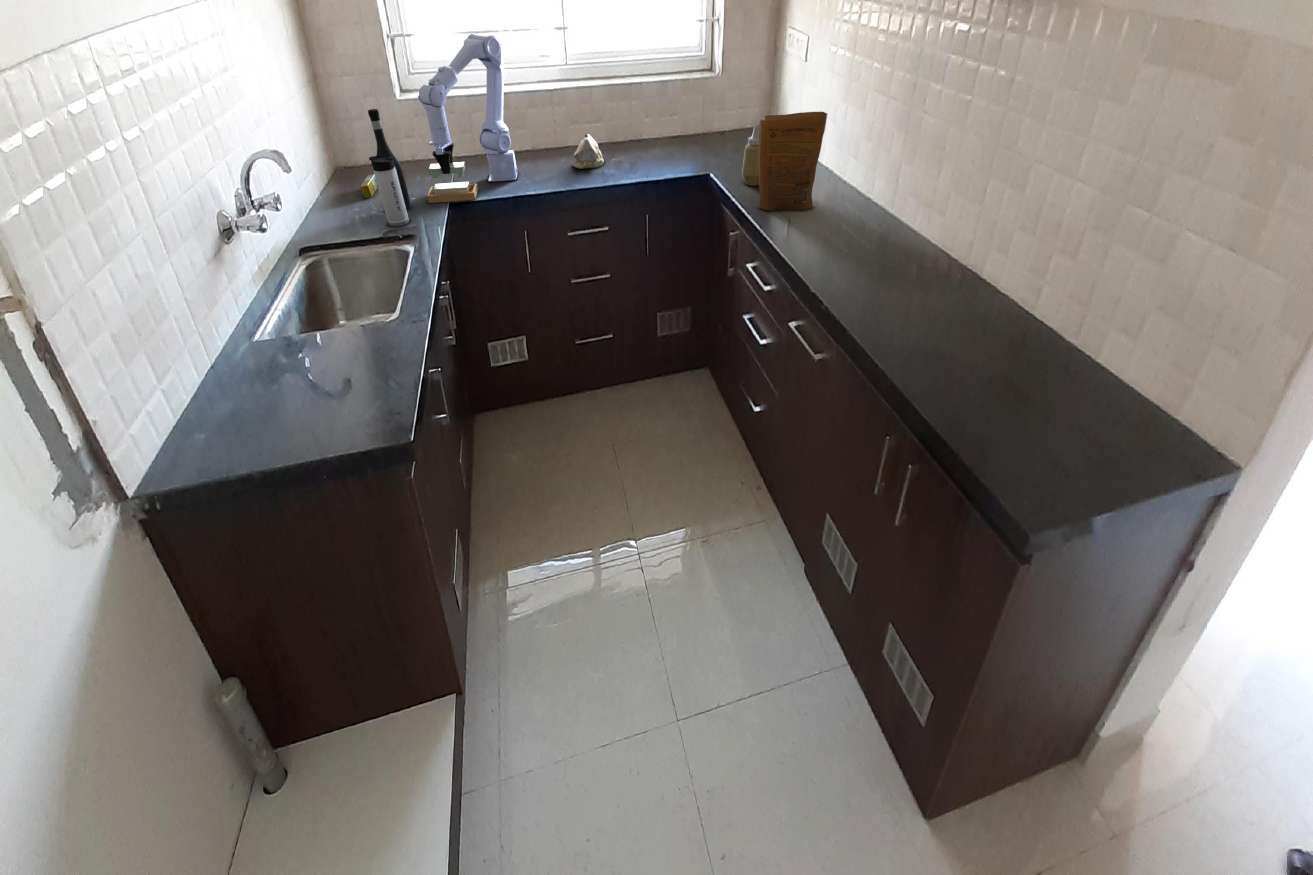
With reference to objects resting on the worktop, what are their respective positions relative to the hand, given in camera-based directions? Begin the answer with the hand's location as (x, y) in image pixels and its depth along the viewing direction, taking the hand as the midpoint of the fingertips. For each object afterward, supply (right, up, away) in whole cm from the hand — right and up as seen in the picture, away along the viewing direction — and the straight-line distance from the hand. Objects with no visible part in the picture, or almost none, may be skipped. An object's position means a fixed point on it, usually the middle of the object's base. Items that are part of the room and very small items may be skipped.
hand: (448, 170), depth 232 cm
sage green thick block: (0, -1, +1) cm, 2 cm away
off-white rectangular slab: (0, -6, +5) cm, 8 cm away
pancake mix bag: (+108, -17, -14) cm, 110 cm away
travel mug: (-12, -21, -11) cm, 26 cm away
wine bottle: (-15, -13, -2) cm, 20 cm away
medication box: (-29, -3, +11) cm, 32 cm away
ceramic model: (+43, +13, +28) cm, 53 cm away
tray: (0, -7, +5) cm, 8 cm away
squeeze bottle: (+100, -3, +5) cm, 100 cm away
